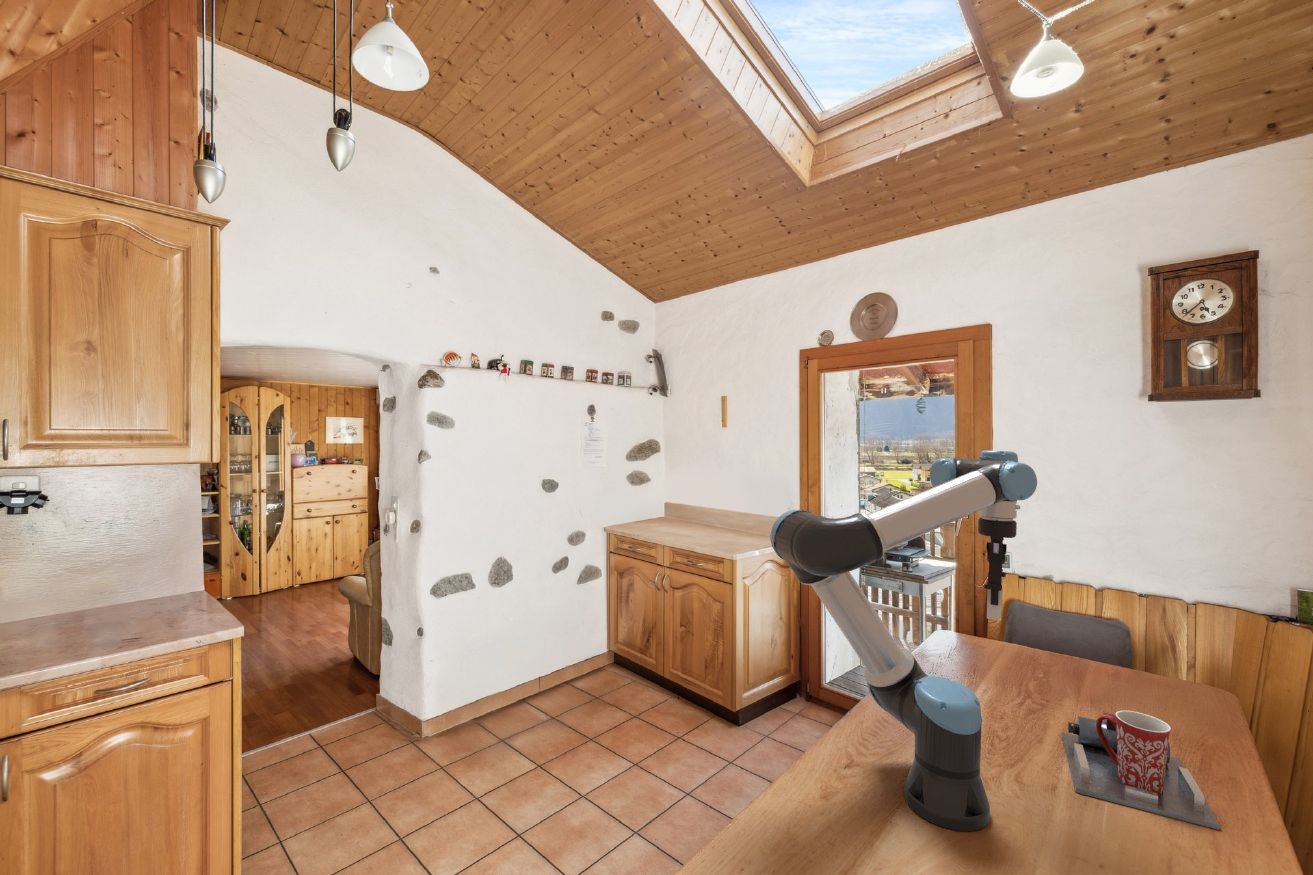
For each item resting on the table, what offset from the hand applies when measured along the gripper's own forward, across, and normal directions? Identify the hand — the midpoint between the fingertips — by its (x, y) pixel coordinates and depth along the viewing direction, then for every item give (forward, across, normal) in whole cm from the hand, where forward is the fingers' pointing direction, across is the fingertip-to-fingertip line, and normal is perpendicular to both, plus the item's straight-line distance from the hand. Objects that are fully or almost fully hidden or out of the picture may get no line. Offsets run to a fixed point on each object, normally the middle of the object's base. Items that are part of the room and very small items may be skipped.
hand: (994, 611), depth 131 cm
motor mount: (+33, +9, -26) cm, 43 cm away
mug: (+33, +6, -26) cm, 42 cm away
